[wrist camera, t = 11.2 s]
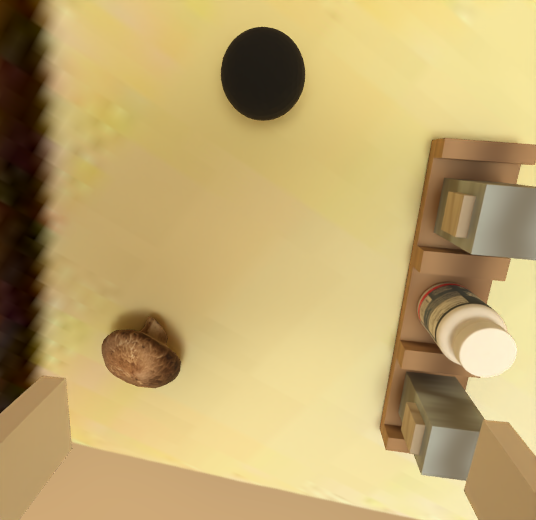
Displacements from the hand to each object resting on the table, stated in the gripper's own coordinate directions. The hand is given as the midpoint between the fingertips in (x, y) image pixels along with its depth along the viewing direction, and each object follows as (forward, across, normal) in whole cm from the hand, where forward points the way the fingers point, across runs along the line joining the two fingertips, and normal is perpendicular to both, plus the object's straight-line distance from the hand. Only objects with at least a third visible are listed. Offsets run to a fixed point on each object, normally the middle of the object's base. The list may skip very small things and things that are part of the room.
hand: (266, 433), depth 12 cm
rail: (+25, +16, -5) cm, 30 cm away
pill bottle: (+24, +16, -4) cm, 29 cm away
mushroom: (+26, -13, -12) cm, 32 cm away
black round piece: (+26, -2, +14) cm, 30 cm away
